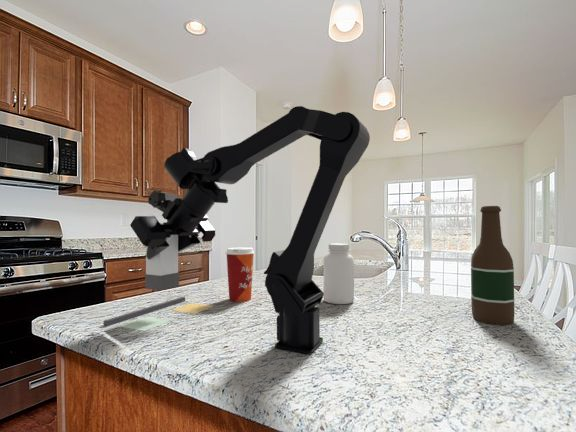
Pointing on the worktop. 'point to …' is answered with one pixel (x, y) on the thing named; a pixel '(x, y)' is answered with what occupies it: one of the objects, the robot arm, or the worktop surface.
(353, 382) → the worktop surface
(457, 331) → the worktop surface
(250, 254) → the paper cup
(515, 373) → the worktop surface
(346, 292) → the pill bottle
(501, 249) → the beer bottle
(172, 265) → the plug
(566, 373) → the worktop surface
